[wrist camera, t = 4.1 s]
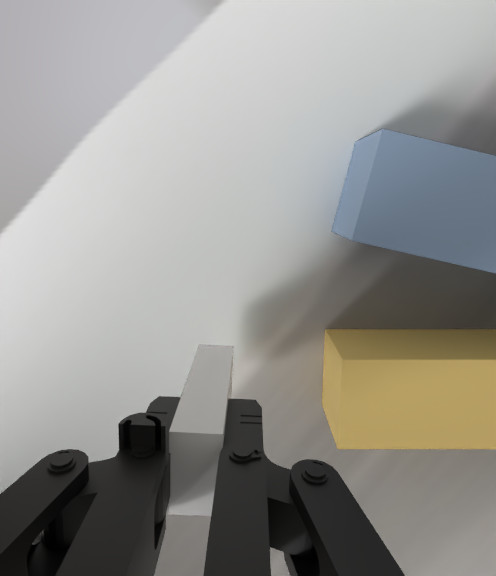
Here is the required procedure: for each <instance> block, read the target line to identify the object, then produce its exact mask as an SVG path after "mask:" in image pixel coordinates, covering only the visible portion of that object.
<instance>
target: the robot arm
mask: <svg viewBox="0 0 496 576" xmlns="http://www.w3.org/2000/svg"><path fill="white" fill-rule="evenodd" d="M232 368H233V346H215V345H199V346H198V349H197V352H196V355H195V358H194V361H193V363H192V366H191V369H190V372H189V375H188V378H187V381H186V384H185V387H184V390H183V393H182V395H181V397H162V396H159V397H158V398H157V399H155V400H154V401H153V402H151V403H150V405H149V407H148V409H147V411H146V413H137V414H134V415H130V416H128V417H126V418H124V419H123V420H122V421H121V422H120V423H119V451H118V453H117V455H116V457H113V458H111V459H107V460H103V461H96V462H90V463H88V456H87V455H86V454H85V453H84V452H82V451H79V450H72V449H68V450H61V451H57V452H55V453H52V454H49V455H48V456H46V457H45V458H43V459H41V460H40V461H39V462H38V463H37V464H35V465H34V466H33V467H32V468H31V469H30V470H28V471H27V472H26V473H25V474H24V475H22V476H21V477H20V478H19V479H18V480H17V481H15V482H14V483H13V484H12V485H11V486H9V487H8V488H7V489H6V490H5V491H4V492H2V493H1V494H0V576H154V573H155V569H156V565H157V561H158V557H159V553H160V549H161V545H162V541H163V537H164V533H165V529H166V510H167V507H168V503H169V514H171V515H192V516H211V522H210V530H209V537H208V545H207V553H206V561H205V568H204V576H271V569H270V547H272V548H275V549H278V550H280V551H283V552H284V557H285V561H286V564H287V567H288V570H289V572H290V575H291V576H405V575H404V573H403V572H402V570H401V569H400V567H399V566H398V564H397V563H396V561H395V560H394V558H393V557H392V555H391V554H390V552H389V550H388V549H387V547H386V546H385V544H384V543H383V541H382V540H381V538H380V537H379V535H378V534H377V532H376V530H375V529H374V527H373V526H372V524H371V523H370V521H369V520H368V518H367V517H366V515H365V514H364V512H363V511H362V509H361V507H360V506H359V504H358V503H357V501H356V500H355V498H354V497H353V495H352V494H351V492H350V491H349V489H348V488H347V486H346V484H345V483H344V481H343V480H342V478H341V477H340V475H339V474H338V472H337V471H336V470H335V469H334V468H333V467H332V466H330V465H328V464H327V463H325V462H322V461H318V460H307V459H306V460H302V461H299V462H297V463H296V464H294V465H293V466H292V469H291V470H290V469H286V468H283V467H280V466H278V465H276V464H274V463H272V462H271V461H270V460H269V459H268V458H267V457H266V456H265V454H264V450H263V430H262V408H261V406H260V405H259V404H258V402H257V401H256V400H246V399H231V393H232Z"/></svg>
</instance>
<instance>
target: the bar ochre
mask: <svg viewBox="0 0 496 576" xmlns="http://www.w3.org/2000/svg"><path fill="white" fill-rule="evenodd" d="M322 406H323V409H324V412H325V414H326V417H327V420H328V423H329V426H330V429H331V432H332V435H333V437H334V440H335V443H336V446H337V449H496V329H325V345H324V368H323V391H322Z"/></svg>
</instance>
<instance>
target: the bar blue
mask: <svg viewBox="0 0 496 576" xmlns="http://www.w3.org/2000/svg"><path fill="white" fill-rule="evenodd" d="M332 232H334V233H336V234H338V235H340V236H343V237H345V238H347V239H349V240H351V241H355V242H359V243H364V244H368V245H373V246H377V247H381V248H386V249H390V250H395V251H399V252H404V253H408V254H412V255H417V256H421V257H426V258H430V259H434V260H439V261H443V262H448V263H452V264H457V265H461V266H465V267H470V268H474V269H479V270H483V271H487V272H492V273H496V156H494V155H490V154H486V153H482V152H478V151H474V150H469V149H465V148H461V147H457V146H453V145H449V144H445V143H440V142H436V141H432V140H428V139H424V138H420V137H415V136H411V135H407V134H403V133H399V132H395V131H391V130H386V129H381V130H379V131H377V132H375V133H373V134H371V135H369V136H367V137H364V138H362V139H360V140H358V141H356V142H355V146H354V149H353V153H352V157H351V161H350V164H349V168H348V172H347V175H346V179H345V183H344V187H343V190H342V194H341V198H340V202H339V205H338V209H337V213H336V216H335V220H334V224H333V228H332Z"/></svg>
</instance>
